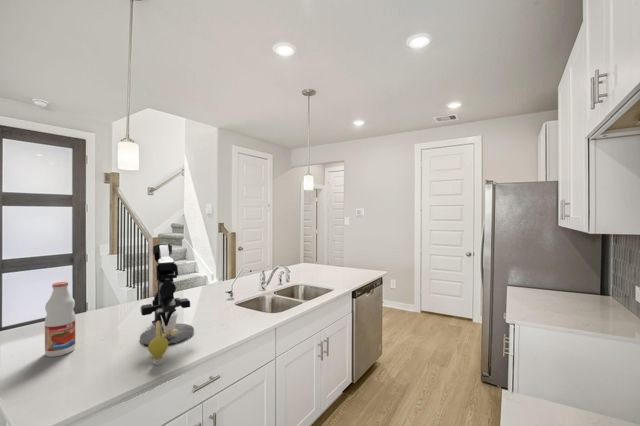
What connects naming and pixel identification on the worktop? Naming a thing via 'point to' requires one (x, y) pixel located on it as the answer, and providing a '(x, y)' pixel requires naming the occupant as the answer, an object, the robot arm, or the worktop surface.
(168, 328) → the cup
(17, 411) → the worktop surface
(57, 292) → the fruit juice
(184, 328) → the turntable
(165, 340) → the light bulb
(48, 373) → the worktop surface
